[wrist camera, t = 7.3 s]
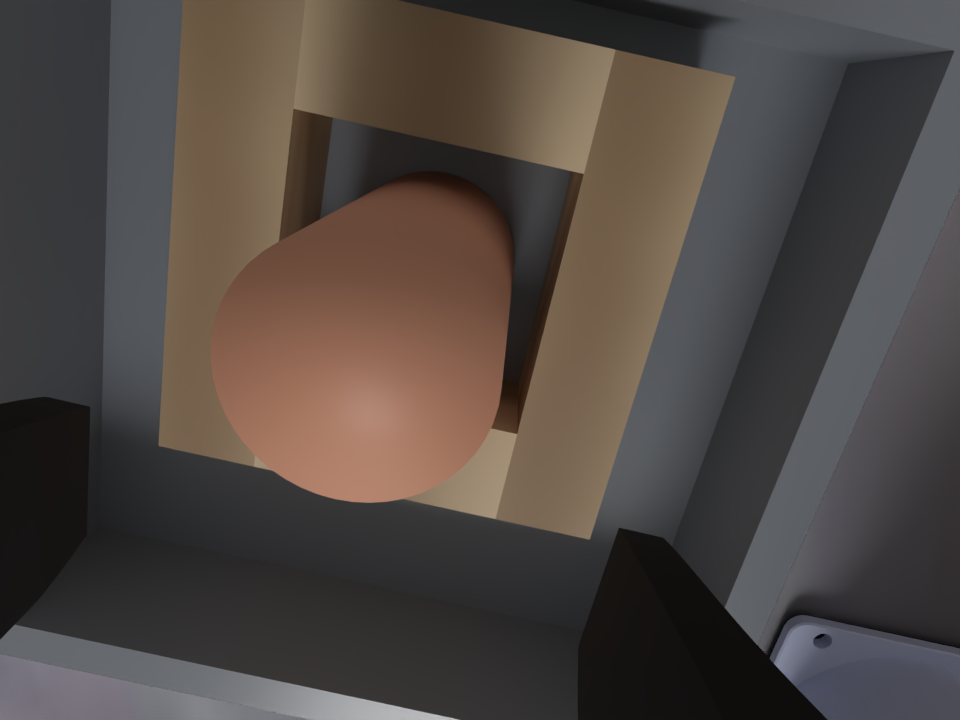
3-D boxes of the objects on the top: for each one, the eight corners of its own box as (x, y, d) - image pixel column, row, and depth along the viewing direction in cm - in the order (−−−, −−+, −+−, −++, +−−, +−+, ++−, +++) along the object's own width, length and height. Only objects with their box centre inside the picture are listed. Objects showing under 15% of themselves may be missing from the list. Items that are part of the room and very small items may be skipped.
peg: (531, 192, 16) (533, 264, 9) (494, 350, 18) (469, 528, 10) (363, 154, 16) (222, 195, 9) (339, 315, 18) (200, 469, 10)
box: (901, 25, 15) (1045, -4, 11) (656, 663, 21) (688, 800, 17) (81, -162, 15) (-94, -267, 11) (75, 537, 21) (-37, 646, 17)
